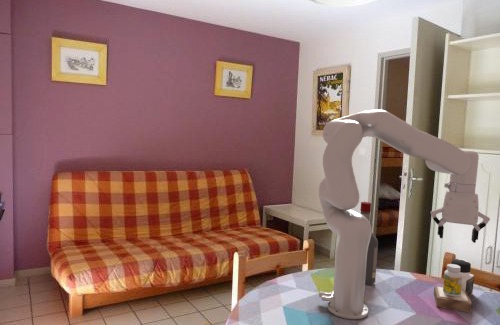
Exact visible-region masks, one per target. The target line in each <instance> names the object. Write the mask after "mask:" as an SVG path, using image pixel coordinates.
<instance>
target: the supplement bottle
mask: <svg viewBox="0 0 500 325" xmlns="http://www.w3.org/2000/svg"><path fill="white" fill-rule="evenodd" d="M460 269H461V267H460V266H458V265H455V264H451V263H447V265H446V270H444V273H443V286H442V287H443V292H444V293H445V294H447V295H449V296H454V297H458V296H460V295H461V286H462V274H461V273H460Z"/></svg>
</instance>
